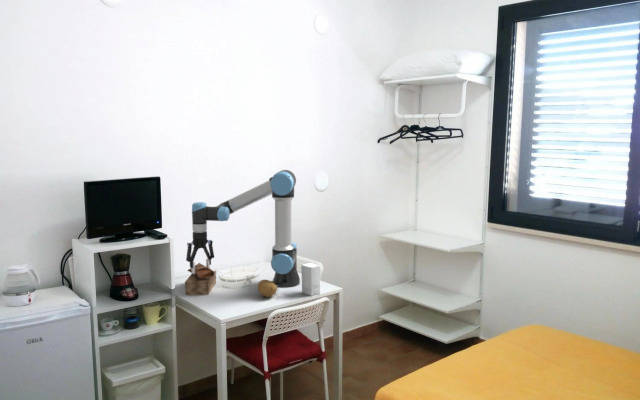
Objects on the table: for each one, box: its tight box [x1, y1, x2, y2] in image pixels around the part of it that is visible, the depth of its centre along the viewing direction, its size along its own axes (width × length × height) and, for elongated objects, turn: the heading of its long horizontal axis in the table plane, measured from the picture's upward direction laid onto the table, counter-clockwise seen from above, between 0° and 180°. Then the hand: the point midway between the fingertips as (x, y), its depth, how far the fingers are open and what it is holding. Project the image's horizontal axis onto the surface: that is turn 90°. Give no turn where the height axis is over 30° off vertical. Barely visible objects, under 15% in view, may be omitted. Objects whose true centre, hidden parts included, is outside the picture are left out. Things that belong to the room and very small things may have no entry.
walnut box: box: [184, 270, 217, 296], centre depth 272 cm, size 12×20×7 cm, turn 0°
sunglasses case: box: [186, 262, 214, 278], centre depth 271 cm, size 18×7×7 cm, turn 37°
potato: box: [257, 279, 278, 298], centre depth 261 cm, size 10×14×8 cm
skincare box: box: [300, 262, 321, 297], centre depth 265 cm, size 8×7×16 cm
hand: (200, 272), depth 271 cm, fingers closed on sunglasses case, 8 cm apart
